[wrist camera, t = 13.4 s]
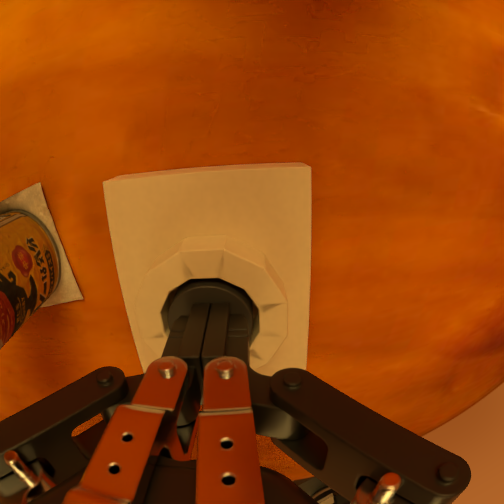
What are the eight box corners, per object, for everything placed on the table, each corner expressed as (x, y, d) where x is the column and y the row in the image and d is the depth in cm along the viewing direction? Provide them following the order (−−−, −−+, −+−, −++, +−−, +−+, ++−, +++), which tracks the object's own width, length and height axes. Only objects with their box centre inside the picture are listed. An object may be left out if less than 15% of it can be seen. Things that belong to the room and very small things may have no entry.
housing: (299, 364, 19) (309, 411, 15) (157, 368, 19) (142, 413, 15) (302, 162, 15) (321, 171, 11) (119, 175, 15) (83, 189, 11)
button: (254, 334, 15) (254, 357, 14) (181, 336, 15) (174, 358, 14) (250, 266, 14) (250, 284, 13) (169, 270, 14) (160, 287, 13)
